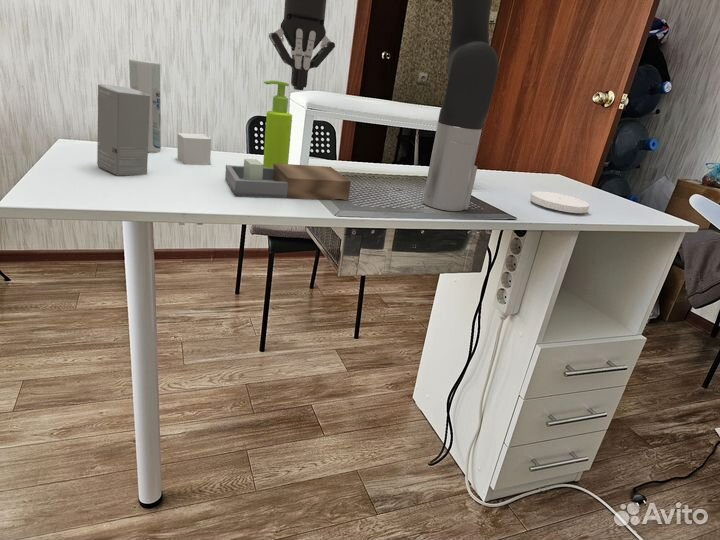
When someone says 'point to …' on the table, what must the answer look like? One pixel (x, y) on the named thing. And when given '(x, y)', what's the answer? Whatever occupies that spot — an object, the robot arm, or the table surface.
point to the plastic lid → (559, 202)
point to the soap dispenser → (277, 129)
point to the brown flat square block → (312, 182)
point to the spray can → (148, 82)
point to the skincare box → (123, 130)
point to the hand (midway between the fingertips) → (298, 89)
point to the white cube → (194, 149)
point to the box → (255, 184)
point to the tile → (252, 170)
